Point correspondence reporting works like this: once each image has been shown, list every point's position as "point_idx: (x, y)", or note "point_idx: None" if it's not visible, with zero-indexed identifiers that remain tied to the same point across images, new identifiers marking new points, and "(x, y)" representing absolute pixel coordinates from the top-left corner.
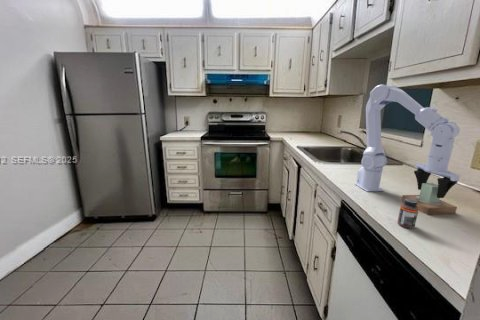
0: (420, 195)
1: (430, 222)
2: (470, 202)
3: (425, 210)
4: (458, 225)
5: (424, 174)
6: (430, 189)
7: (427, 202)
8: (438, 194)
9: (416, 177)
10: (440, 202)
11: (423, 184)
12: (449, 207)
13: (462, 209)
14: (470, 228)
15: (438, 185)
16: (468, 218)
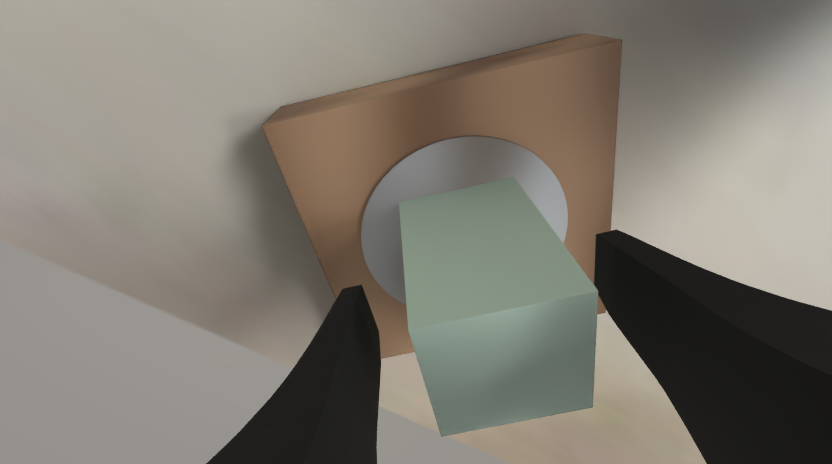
0: (514, 195)
1: (86, 24)
2: (538, 460)
3: (298, 109)
4: (146, 232)
5: (775, 461)
6: (427, 291)
7: (404, 195)
8: (333, 310)
9: (797, 306)
10: None
11: (563, 285)
12: None
13: None
14: (130, 277)
15: (318, 403)
16: (305, 349)
